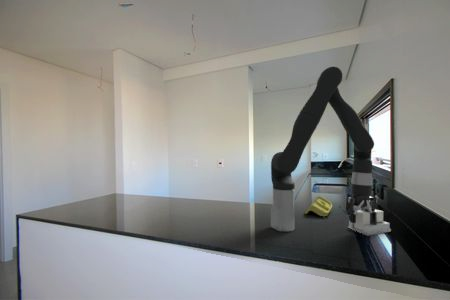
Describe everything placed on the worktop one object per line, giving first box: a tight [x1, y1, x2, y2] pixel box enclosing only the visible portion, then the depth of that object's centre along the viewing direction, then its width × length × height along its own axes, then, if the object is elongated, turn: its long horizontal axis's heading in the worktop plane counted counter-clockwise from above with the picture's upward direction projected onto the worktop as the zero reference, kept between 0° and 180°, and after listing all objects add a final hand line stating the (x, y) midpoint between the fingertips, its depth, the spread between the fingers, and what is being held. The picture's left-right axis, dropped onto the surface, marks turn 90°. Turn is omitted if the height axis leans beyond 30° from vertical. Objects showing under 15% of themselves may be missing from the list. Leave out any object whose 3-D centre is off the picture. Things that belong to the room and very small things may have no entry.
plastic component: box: [304, 195, 333, 217], centre depth 127 cm, size 20×7×10 cm
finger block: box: [354, 209, 370, 230], centre depth 97 cm, size 5×4×7 cm
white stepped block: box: [347, 208, 392, 236], centre depth 98 cm, size 14×9×8 cm, turn 112°
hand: (360, 221), depth 97 cm, fingers open, 8 cm apart
